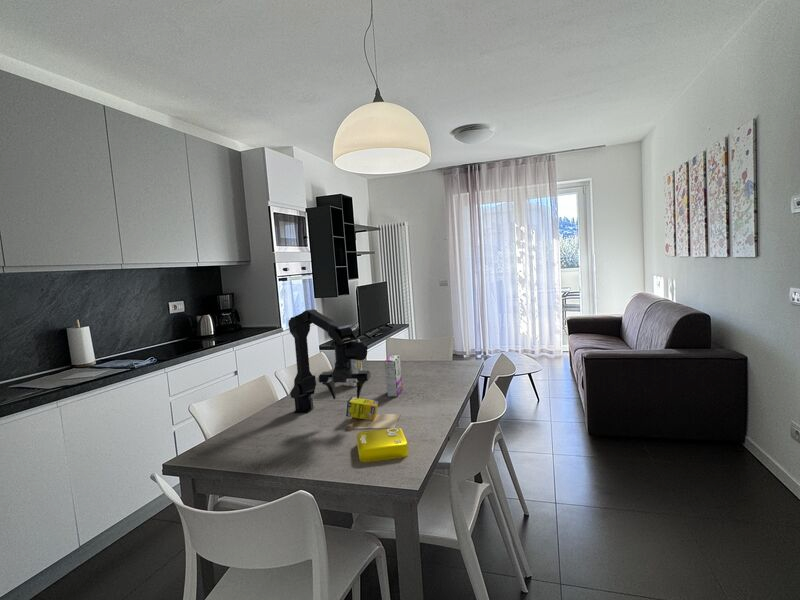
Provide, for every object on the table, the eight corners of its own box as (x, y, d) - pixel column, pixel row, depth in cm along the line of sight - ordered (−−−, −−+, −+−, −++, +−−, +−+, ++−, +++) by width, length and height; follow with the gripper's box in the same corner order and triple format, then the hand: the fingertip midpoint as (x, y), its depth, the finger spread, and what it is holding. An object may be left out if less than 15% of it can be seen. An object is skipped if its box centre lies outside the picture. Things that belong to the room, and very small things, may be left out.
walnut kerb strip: (346, 430, 155) (345, 426, 155) (357, 414, 171) (357, 411, 171) (351, 430, 155) (351, 426, 155) (362, 414, 171) (361, 410, 171)
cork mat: (350, 429, 156) (350, 428, 156) (360, 415, 170) (360, 414, 170) (394, 428, 154) (394, 427, 154) (400, 415, 167) (400, 414, 167)
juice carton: (365, 383, 217) (361, 336, 216) (355, 387, 211) (351, 338, 209) (350, 381, 222) (347, 335, 221) (340, 385, 216) (337, 338, 214)
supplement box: (347, 401, 162) (375, 406, 161) (351, 396, 168) (378, 400, 167) (345, 416, 163) (373, 421, 162) (349, 411, 169) (376, 415, 168)
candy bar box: (392, 389, 203) (389, 355, 202) (402, 389, 202) (400, 355, 201) (386, 397, 192) (384, 360, 191) (397, 396, 191) (395, 360, 190)
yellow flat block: (357, 444, 143) (356, 430, 143) (401, 439, 145) (400, 425, 145) (359, 464, 128) (358, 448, 128) (409, 458, 131) (408, 442, 130)
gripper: (311, 363, 155) (315, 406, 156) (362, 362, 152) (365, 405, 153) (322, 357, 166) (325, 396, 167) (369, 355, 163) (372, 395, 164)
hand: (346, 398), depth 163 cm, fingers open, 9 cm apart
